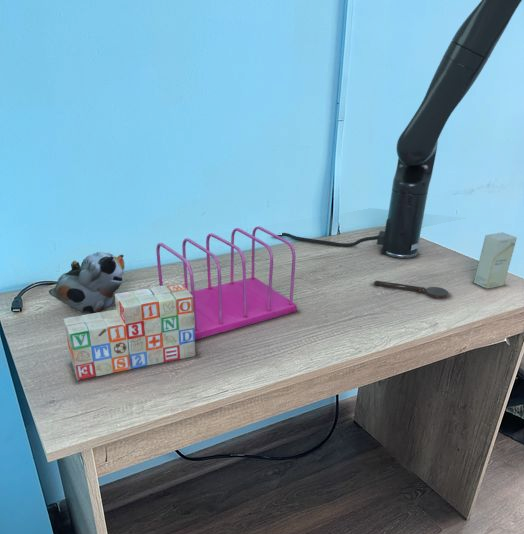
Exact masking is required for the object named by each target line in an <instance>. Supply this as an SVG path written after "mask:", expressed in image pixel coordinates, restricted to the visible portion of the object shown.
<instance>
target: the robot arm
mask: <svg viewBox="0 0 524 534" xmlns="http://www.w3.org/2000/svg"><path fill="white" fill-rule="evenodd" d="M522 1H523V0H481V1H480V2H479V3H478V4H477V5H476V6H475V8H474V9H473V10H472V12H471V13H470V14H469V15H468V16H467V17H466V18H465V20H464V21H463V22H462V23H461V25H460V27H458V29H457V31H456V32H455V34H454V36H453V37H452V39H451V41H450V43H449V45H448V47H447V48H446V51H445V52H444V54H443V55H442V58H441V60H440V62H439V64H438V66H437V68H436V70H435V72H434V75H433V77H432V79H431V81H430V84H429V86H428V88H427V90H426V92H425V95H424V97H423V100H422V102H421V103H420V105H419V107H418V108H417V110H416V112H415V113H414V115H413V116H412V118H411V119H410V121H409V122H408V123H407V125H406V127H405V128H404V130H403V131H402V132H401V133H400V135H399V136H398V139H397V141H396V148H395V149H396V155H397V158H398V159H397V165H396V170H395V173H394V177H393V180H392V184H391V193H390V199H389V207H388V213H387V218H386V222H385V227H384V228H385V229H384V230H380V231H379V232H378V235H375V236H367V237H363V238H359V239H357V240H356V241H354V242H349V243H347V242H346V243H343V242H336V241H330V240H323V239H315V238H310V237H309V238H308V237H301V236H297V235H294V234H291V233H288V232H281V233H282V235H278V234H277V235H278V236H280V237H281V238H282V237H287V238H289V239H292V240H295V241H300V242H308V243H314V244H321V245H329V246H335V247H342V248H343V247H344V248H351V247H356V246H357V245H359V244H361V243H363V242H368V241H376V245H379V246H382V250H381V255H386V256H389V257H393V258H397V259H411V258H415V257H416V256H417V255H418V249H419V246H420V237H421V232H422V227H423V221H424V215H425V210H426V203H427V200H428V199H427V198H428V192H429V189H430V185H431V184H430V183H431V180H432V176H433V171H434V166H435V160H436V155H437V151H438V144H439V138H440V136H441V134H442V132H443V129H444V128H445V126H446V124H447V122H448V120H449V118H450V117H451V115H452V113H453V112H454V111H455V109H456V108H457V107H458V106H459V104H460V103H461V101H462V100H463V99H464V98H465V96H466V95H467V94H468V92H469V91H470V89H471V88H472V86H473V85H474V84H475V82H476V80H477V79H478V78H479V76H480V74H481V72H482V71H483V69H484V67H485V65H486V64H487V62H488V61H489V58H490V57H491V55H492V53H493V52H494V51H495V48H496V46H497V44H498V42H500V40H501V37H502V35H503V34H504V33H505V30H506V29H507V27H508V26H509V23H510V21H511V19H512V17H513V16H514V15H515V12H516V10H517V9H518V7H519V6H520V4H521V3H522Z"/></svg>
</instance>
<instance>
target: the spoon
mask: <svg viewBox="0 0 524 534" xmlns="http://www.w3.org/2000/svg"><path fill="white" fill-rule="evenodd" d="M373 285H374V286H377V287H383V288H390V289H396V290H403V291H410V292H416V293H418V294H424V295H426V296H428V297H430V298H432V299H437V300H438V299H439V300H442V299H446V298H447V297H448V295H449V292H448V290H447V289H445V288H443V287H440V286H429V287H427V288H426V287H424V286H417V285H411V284H403V283H397V282H396V283H395V282H389V281H383V280H374V281H373Z"/></svg>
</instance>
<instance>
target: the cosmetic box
mask: <svg viewBox="0 0 524 534" xmlns="http://www.w3.org/2000/svg"><path fill="white" fill-rule="evenodd" d="M517 239H518V237H517V236H515V235H511V234H509V233H506V232H498V233H497V232H496V233H491V234H485V236H484V240H483V243H482V248H481V251H480V255H479V259H478V264H477V268H476V272H475V276H474V280H473V283H474V284H476V285H478V286H480V287H482V288H484V289H488V290H489V289H493V288H497V287H501V286H505V283H506V279H507V276H508V272H509V268H510V264H511V261H512V257H513V255H514V250H515V246H516V242H517Z"/></svg>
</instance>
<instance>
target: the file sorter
mask: <svg viewBox="0 0 524 534" xmlns="http://www.w3.org/2000/svg"><path fill="white" fill-rule="evenodd" d="M257 230H259V231H261V232H264V233H265V234H267V235H269V236H271V237H274V239H277V240H278V241H281V242H282V243H284V244H286V245H287V246H288V247H289V248H290V251H291V260H292V261H291V271H290V272H291V273H290V275H291V276H290V288H289V298H287V297H286V296H284V295H283V294H281V293H280V292H278V291H276V290H275V289H274V288H272V287H273V274H274V273H273V271H274V254H273V250H272V249H271V246H270V245H269V244H267V243H266V242H264V241H263V240H261V239H259V238H258V237H256V232H257ZM236 232H239V233H240V234H242V235H244V236H246V237H248V238H249V239H251V277H249V278H248V277H247V270H246V269H247V268H246V266H247V265H246V264H247V263H246V258H245V255H244V253H243V251H242V249H241V248H240V247H239V246H237V245H236V244H235V235H236ZM210 238H214V239H215V240H217V241H219V242H221V243H224V244H225V245H227V246H229V247H230V282H227V283H222V271H221V270H222V269H221V265H220V261H219V259H218V257H217V256H216V254H214V252H212V251H210V240H211V239H210ZM187 243H190V244H191V245H193V246H194V247H195V248H197V249H199V250H200V251H202V252H204V253H206V269H207V287H204V288H200V289H196V290H195V281H194V272H193V268H192V266H191V264H190V262H189V261H188V259H187V253H186V252H187V251H186V244H187ZM255 243H258V244H260V245H261V246H263V247H265V248H266V250H267V252H268V255H269V274H268V285H267V284H266V283H264V282H263V281H261V280H260V279H258V278H257V277H256V276H255V260H256V259H255V258H256V257H255V253H256V251H255V250H256V244H255ZM181 247H182V248H181V249H182V255H181V254H180V253H178V252H177V251H175V250H174V249H173V248H170V247H169V246H168V245H166V244H165V243H163V242H159V243H157V244H156V249H155V250H156V263H157V272H158V280H159V281H158V283H159V286H164V284H163V274H162V265H161V253H160V249H161V248H163V249H164V250H166V251H167V252H169V253H170V254H172V255H174V256H175V257H176V258H178V259H179V260H181V262H182V263H183V280H184V287H185V288H186V289H187V290H188V291H189V283H190V291H189V292H190V294H191V295H192V296H193V311H194V318H195V327H194V328H195V341H197V340H199V339H203V338H207V337H210V336H214V335H217V334H221V333H224V332H228V331H231V330H235V329H236V330H237V329H239V328H243V327H246V326H250V325H254V324H256V323H257V324H258V323H260V322H264V321H267V320H271V319H274V318H275V319H276V318H279V317H281V316H285V315H289V314H293V313H296V312H297V304H296V303H295V302H293V301H294V289H295V287H294V285H295V272H296V256H297V255H296V250H295V247H294V245H293V244H292V243H291V242H290V241H289V240H287V239H285V238H283V237H282V236H281V237H280V236H278V234H276V233H274V232H272V231H270V230H268V229H266V228H264V227H262V226H255V227H254V228H253V230H252V234H251V233H249V232H247V231H245V230H243V229H241V228H239V227H236V228H233V230H232V232H231V236H230V241H228V240H226V239H224V238H223V237H220V236H218V235H216V234H214V233H213V232H212V233H208V234H207V236H206V239H205V247H206V248H205V247H204V246H202V245H200V244H199V243H198V242H196V241H194V240H192V239H191V238H188V237H187V238H184V239H183V241H182V245H181ZM235 251H237V252H238V253H239V256H240V259H241V265H242V268H241V269H242V279H240V280H236V281H234V271H235V270H234V267H235V265H234V264H235V263H234V261H235V260H234V258H235ZM211 258H212V259H213V260H214V262H215V265H216V270H217V285H213V286H212V278H211V277H212V275H211V274H212V273H211ZM188 273H189V280H190V281H189V280H188ZM188 281H189V283H188Z"/></svg>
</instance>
